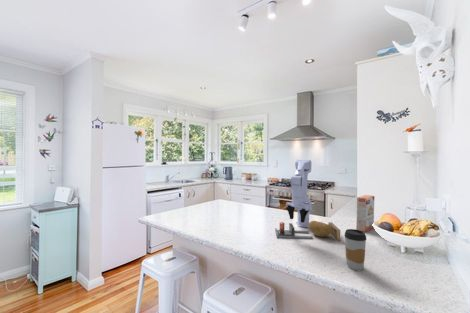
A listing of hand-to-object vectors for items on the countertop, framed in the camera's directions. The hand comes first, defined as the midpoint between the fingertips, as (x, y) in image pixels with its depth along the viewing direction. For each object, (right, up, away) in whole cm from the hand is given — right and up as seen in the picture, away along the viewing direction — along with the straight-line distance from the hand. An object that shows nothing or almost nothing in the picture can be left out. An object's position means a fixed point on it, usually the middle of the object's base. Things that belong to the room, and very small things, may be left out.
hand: (297, 220), depth 129 cm
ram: (-5, -10, +5) cm, 12 cm away
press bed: (+6, -10, +4) cm, 12 cm away
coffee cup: (+16, -11, -33) cm, 38 cm away
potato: (+15, -10, +3) cm, 18 cm away
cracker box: (+48, -10, +15) cm, 51 cm away
